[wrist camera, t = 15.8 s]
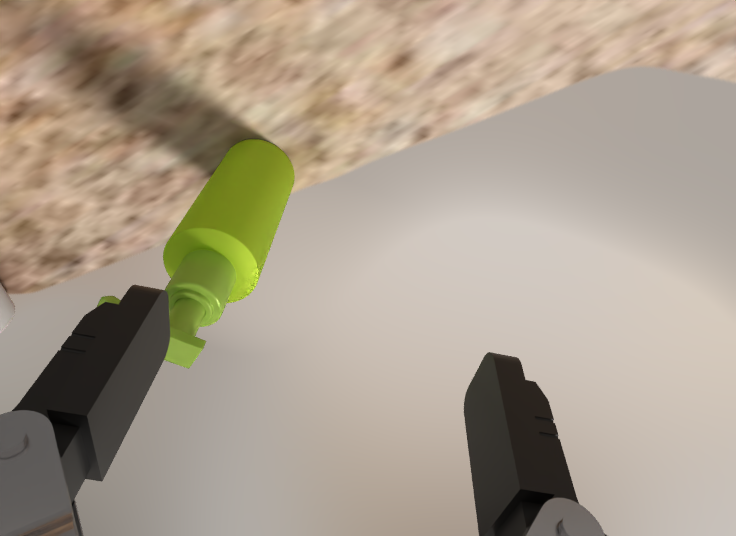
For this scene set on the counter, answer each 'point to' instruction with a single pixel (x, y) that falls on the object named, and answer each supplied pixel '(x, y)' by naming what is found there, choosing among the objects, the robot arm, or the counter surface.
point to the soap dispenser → (223, 242)
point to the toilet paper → (5, 309)
